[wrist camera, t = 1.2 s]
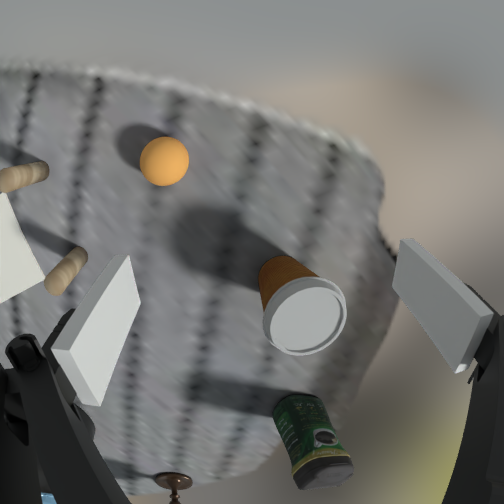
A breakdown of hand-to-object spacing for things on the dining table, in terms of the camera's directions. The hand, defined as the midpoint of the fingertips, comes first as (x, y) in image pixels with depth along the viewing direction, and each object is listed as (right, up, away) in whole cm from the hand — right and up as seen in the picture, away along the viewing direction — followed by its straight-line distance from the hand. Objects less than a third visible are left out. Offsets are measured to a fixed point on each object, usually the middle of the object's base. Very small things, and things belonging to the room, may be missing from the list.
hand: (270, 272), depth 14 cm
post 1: (-28, +11, +17) cm, 35 cm away
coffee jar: (+8, -29, +39) cm, 49 cm away
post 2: (-24, 0, +22) cm, 32 cm away
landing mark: (-39, +1, +19) cm, 43 cm away
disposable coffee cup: (+3, -2, +28) cm, 29 cm away
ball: (-10, +11, +18) cm, 23 cm away
